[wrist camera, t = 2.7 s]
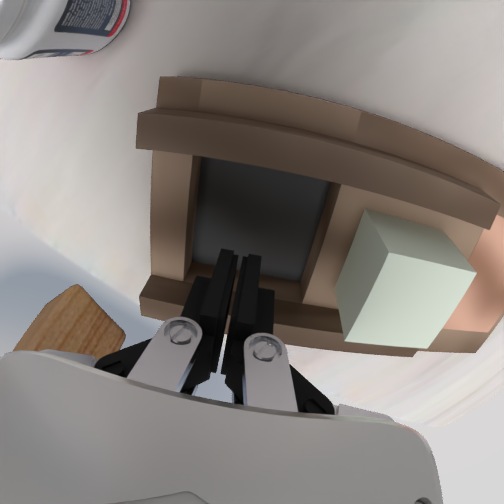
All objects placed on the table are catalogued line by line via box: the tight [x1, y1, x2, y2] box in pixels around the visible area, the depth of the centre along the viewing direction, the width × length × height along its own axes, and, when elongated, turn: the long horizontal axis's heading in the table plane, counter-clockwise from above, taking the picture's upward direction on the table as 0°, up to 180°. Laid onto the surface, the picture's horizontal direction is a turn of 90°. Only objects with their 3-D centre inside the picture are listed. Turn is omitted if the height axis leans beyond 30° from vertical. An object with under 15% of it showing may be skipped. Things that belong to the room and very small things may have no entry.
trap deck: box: [136, 77, 504, 357], centre depth 16 cm, size 14×26×4 cm, turn 80°
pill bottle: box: [0, 0, 130, 60], centre depth 7 cm, size 5×5×9 cm
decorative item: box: [12, 284, 126, 359], centre depth 16 cm, size 7×7×20 cm
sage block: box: [334, 209, 477, 349], centre depth 14 cm, size 5×5×4 cm
